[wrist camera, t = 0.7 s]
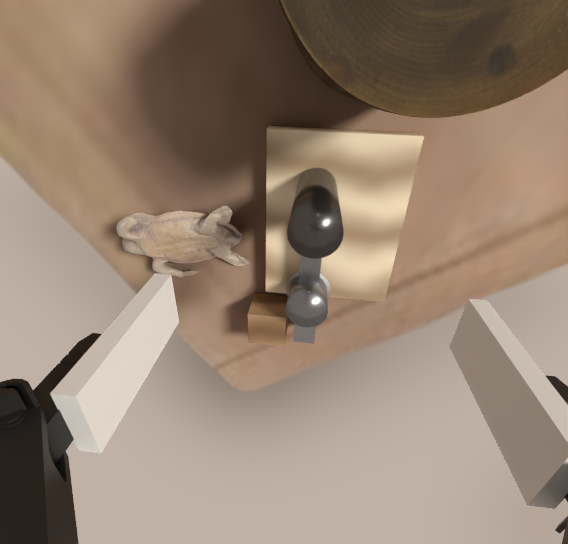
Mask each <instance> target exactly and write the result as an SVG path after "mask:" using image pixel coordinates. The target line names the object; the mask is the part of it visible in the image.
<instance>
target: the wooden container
mask: <svg viewBox="0 0 568 544" xmlns="http://www.w3.org/2000/svg"><path fill="white" fill-rule="evenodd" d="M279 2H280V4H281V7H282V10H283V12H284V14H285V17H286V19H287V21H288V23H289V25H290V27H291V30H292V33H293V36H294V38H295V40H296V43H297V45H298V47H299V49H300V51H301V52H302V54H303V56H304V58H305V59H306V61H307V62H308V64H309V65H310V67H311V68H312V69H313V71H314V72H315V73H316V74H317V75H318V76H319V77H320V78H321V79H322V80H323V81H324V82H325V83H327V84H328V85H329V86H330V87H332V88H333V89H335V90H337V91H339V92H340V93H342V94H344V95H347V96H349V97H351V98H354V99H356V100H359V101H361V102H363V103H365V104H367V105H369V106H372V107H374V108H377V109H380V110H383V111H386V112H390V113H395V114H399V115H405V116H412V117H425V118H440V117H451V116H458V115H465V114H470V113H474V112H478V111H483V110H486V109H489V108H492V107H495V106H498V105H501V104H504V103H506V102H509V101H511V100H513V99H516V98H518V97H520V96H522V95H524V94H526V93H529V92H531V91H533V90H535V89H536V88H538V87H540V86H542V85H544V84H545V83H547V82H549V81H550V80H552V79H554V78H555V77H557V76H558V75H560V74H561V73H563V72H564V71H566V70H567V69H568V0H279Z"/></svg>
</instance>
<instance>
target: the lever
mask: <svg viewBox="0 0 568 544" xmlns="http://www.w3.org/2000/svg"><path fill="white" fill-rule="evenodd" d="M343 235H344V230H343V223H342V216H341V210H340V204H339V197H338V191H337V184H336V180H335V178H334V176H333V175H332V174H331V173H330V172H329V171H328V170H326V169H323V168H312V169H309V170H307V171H306V172H304V173H303V174H302V175H301V177H300V178H299V181H298V184H297V189H296V193H295V197H294V202H293V206H292V211H291V215H290V219H289V224H288V228H287V237H288V241H289V243H290V245H291V247H292V248H293V249H294V250H295V251H296V252H297V253H298V254H300V268H299V276H297V277H296V278H294V279H293V280H292V282H291V283H290V286H289V291H288V298H287V304H286V314H287V317H288V318H289V320H290V321H291V322H292V323H294V324H295V325H294V341H295V342H306V343H314V337H315V328H316V326H317V325H319V324H321V323H322V322H323V321H324V320H325V319H326V317H327V313H328V308H327V287H326V284H325V282H324V281H323V280H322V279H321V278H320V269H321V260H322V258H324V257H327V256H329V255H331V254H332V253H333V252H335V251H336V250H337V249H338V247H339V246H340V244H341V243H342V240H343Z"/></svg>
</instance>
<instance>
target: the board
mask: <svg viewBox="0 0 568 544" xmlns="http://www.w3.org/2000/svg"><path fill="white" fill-rule="evenodd" d="M423 138H424V136H422V135H420V134H419V133H403V132H383V131H363V130H343V129H322V128H302V127H282V126H269V127H268V128H267V151H266V292H274V293H286V294H287V296H288V291H289V286H290V283H291V282H292V280H293V279H294V278H296V277H297V276H299V268H300V254H298V253H297V252H296V251H295V250H294V249H293V248H292V247H291V245H290V243H289V241H288V237H287V228H288V224H289V219H290V215H291V211H292V206H293V202H294V197H295V193H296V189H297V184H298V181H299V178H300V177H301V175H302V174H303V173H304V172H306V171H307V170H309V169H312V168H323V169H326V170H328V171H329V172H330V173H331V174H332V175H333V176H334V178H335V180H336V184H337V191H338V197H339V204H340V210H341V216H342V223H343V230H344V235H343V240H342V243H341V244H340V246H339V247H338V249H337V250H336V251H335V252H333V253H332V254H331V255H329V256H327V257H324V258H322V260H321V269H320V278H321V279H322V280H323V281H324V282H325V284H326V287H327V299H328V297H333V298H345V299H357V300H369V301H381V302H384V301H385V297H386V293H387V288H388V284H389V280H390V276H391V272H392V268H393V263H394V259H395V255H396V251H397V247H398V243H399V238H400V234H401V230H402V226H403V222H404V218H405V213H406V209H407V205H408V201H409V197H410V193H411V188H412V184H413V180H414V176H415V172H416V168H417V163H418V159H419V155H420V151H421V147H422V143H423Z"/></svg>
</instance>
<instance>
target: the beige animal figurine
mask: <svg viewBox="0 0 568 544" xmlns="http://www.w3.org/2000/svg"><path fill="white" fill-rule="evenodd" d="M231 216H232V210H231V209H230V208H229V207H228V206H227V205H225V206H221V207H219V208H218V209H216V210H215V211H212V212H211V213H210V214H206V213H198V212H189V211H183V210H182V211H174V212H167V213H164V214H161V215H158V216H157V215H156V216H153V215H147V214H146V213H135V214H132V215H128V216H127V217H125V218H123V219H122V220H121V221H119V222H118V224H117V227H116V231H117V233H118V235H119V236H120V237H122V238H123V240H122V246H123V248H124V250H125V251H127V252H129V253H132V254H141V255H146V256H149V257H152V258H153V261H152V269H153V270H154V271H155V272H157V273H159V274H168V275H171V276H176V277H184V276H187V275H194V274H196V273H198V271H193V270H192V271H186V272H183V271H181V270H179V269H174V268H171V267H168V266H166V265H165V264H164V263H165V262H168V261H171V262H174V263H197V262H202V261H206V260H210V259H213V258H215V257H219V258H221V259H223V260H225V261H226V262H229V263H231V264H233V265H235V266H244V265H247V264H249V262H248V261H249V260H245V258H244V257H240V256H239V255H238V254H236V253H234V252H233V251H231V248H233V247H235V245H237V244H238V243H239V242H240V241H241V239H242V236H243V234H242V233H240V232H239V230H238V229H237V228H236V227H235V226H234V225H232V224H231V223H229V222H230V219H231Z"/></svg>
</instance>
